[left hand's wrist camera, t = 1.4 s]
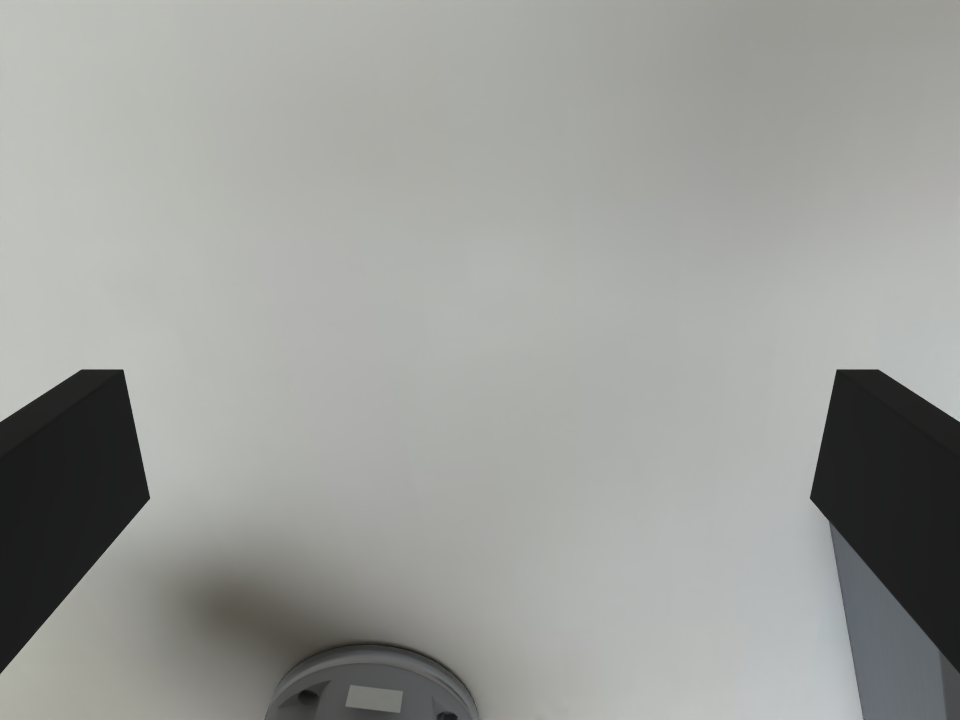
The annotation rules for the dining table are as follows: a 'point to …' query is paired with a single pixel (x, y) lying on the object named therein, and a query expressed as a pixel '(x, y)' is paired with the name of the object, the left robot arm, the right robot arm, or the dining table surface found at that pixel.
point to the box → (891, 650)
